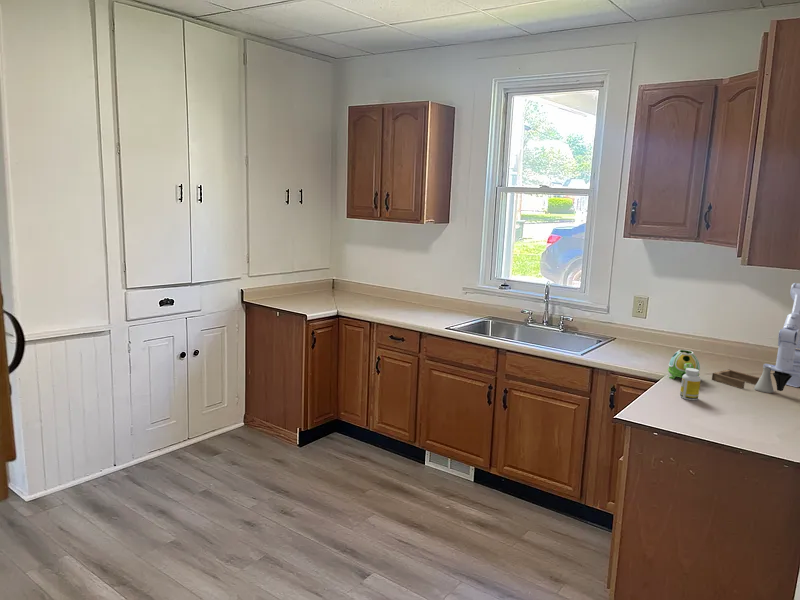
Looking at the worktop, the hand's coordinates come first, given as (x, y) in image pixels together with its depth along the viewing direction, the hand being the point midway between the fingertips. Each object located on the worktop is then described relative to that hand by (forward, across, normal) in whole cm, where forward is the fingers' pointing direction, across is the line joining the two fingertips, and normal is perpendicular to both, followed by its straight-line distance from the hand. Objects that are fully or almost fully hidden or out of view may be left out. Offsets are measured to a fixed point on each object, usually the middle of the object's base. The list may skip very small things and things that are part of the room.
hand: (780, 390), depth 240 cm
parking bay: (+2, -18, 0) cm, 18 cm away
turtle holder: (+2, -31, -17) cm, 35 cm away
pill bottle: (+2, -15, -39) cm, 42 cm away
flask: (+2, -6, 0) cm, 6 cm away
